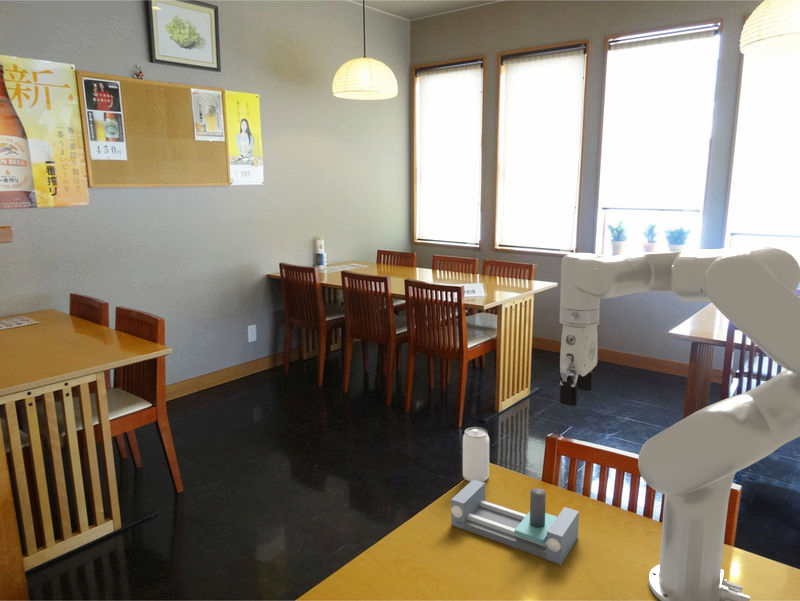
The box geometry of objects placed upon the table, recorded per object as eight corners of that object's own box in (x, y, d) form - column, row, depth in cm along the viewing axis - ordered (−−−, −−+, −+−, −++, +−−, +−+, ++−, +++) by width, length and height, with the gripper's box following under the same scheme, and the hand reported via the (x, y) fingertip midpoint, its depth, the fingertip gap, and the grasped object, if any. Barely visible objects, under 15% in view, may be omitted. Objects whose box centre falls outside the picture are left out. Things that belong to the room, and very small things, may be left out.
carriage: (559, 521, 117) (560, 486, 116) (543, 544, 110) (544, 507, 108) (531, 512, 120) (532, 478, 119) (514, 534, 113) (515, 498, 112)
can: (488, 470, 144) (488, 426, 141) (489, 483, 138) (490, 438, 135) (462, 470, 145) (462, 426, 142) (462, 483, 138) (462, 437, 136)
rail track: (577, 537, 116) (578, 511, 115) (560, 565, 108) (561, 537, 106) (473, 503, 129) (473, 479, 128) (450, 525, 121) (450, 500, 120)
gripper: (584, 327, 103) (581, 415, 107) (610, 309, 117) (606, 387, 121) (545, 322, 108) (543, 407, 111) (574, 305, 122) (571, 381, 125)
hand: (576, 396), depth 116 cm, fingers open, 9 cm apart
